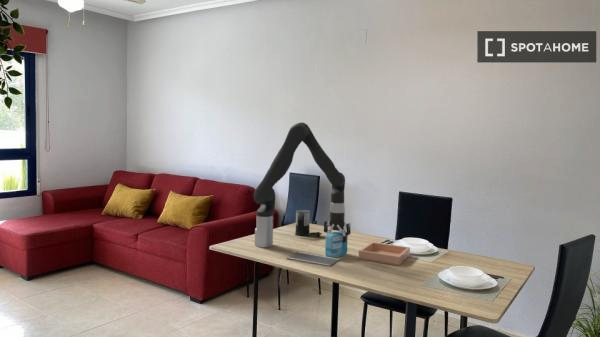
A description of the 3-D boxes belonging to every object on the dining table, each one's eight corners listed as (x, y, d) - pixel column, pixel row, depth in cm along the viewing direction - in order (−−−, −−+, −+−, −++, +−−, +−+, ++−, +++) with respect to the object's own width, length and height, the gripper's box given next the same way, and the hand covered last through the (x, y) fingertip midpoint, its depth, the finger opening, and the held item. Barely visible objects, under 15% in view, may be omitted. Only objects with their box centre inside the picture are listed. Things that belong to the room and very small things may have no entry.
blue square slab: (330, 258, 231) (331, 235, 230) (324, 256, 235) (325, 233, 234) (347, 254, 239) (347, 232, 238) (341, 252, 242) (341, 230, 241)
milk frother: (294, 232, 284) (294, 209, 283) (319, 232, 286) (319, 209, 285) (296, 238, 270) (297, 214, 269) (322, 238, 272) (323, 213, 271)
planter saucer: (358, 259, 231) (358, 250, 231) (371, 249, 249) (371, 241, 248) (399, 265, 221) (399, 257, 221) (409, 255, 239) (410, 247, 238)
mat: (286, 258, 229) (286, 257, 229) (298, 253, 240) (298, 251, 240) (329, 266, 218) (329, 265, 218) (339, 260, 228) (339, 259, 228)
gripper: (321, 210, 234) (321, 241, 236) (347, 213, 228) (346, 245, 229) (327, 208, 241) (327, 238, 242) (352, 211, 234) (352, 241, 236)
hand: (336, 241), depth 236 cm, fingers open, 8 cm apart
